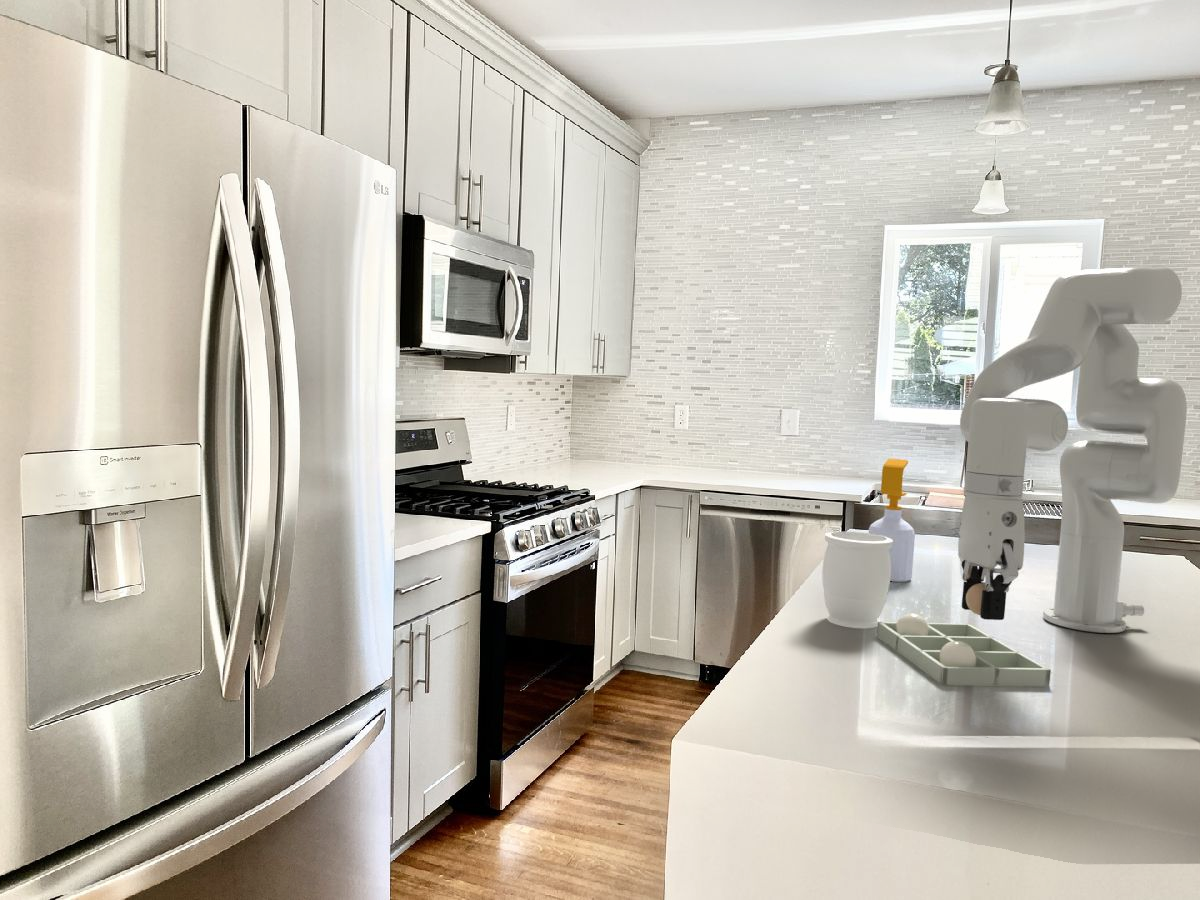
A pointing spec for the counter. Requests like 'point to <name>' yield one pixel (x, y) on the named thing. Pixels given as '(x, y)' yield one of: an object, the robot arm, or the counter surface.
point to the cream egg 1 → (912, 625)
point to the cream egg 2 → (957, 655)
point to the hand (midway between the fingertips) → (982, 612)
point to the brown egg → (975, 597)
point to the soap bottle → (895, 522)
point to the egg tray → (992, 656)
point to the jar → (856, 577)
